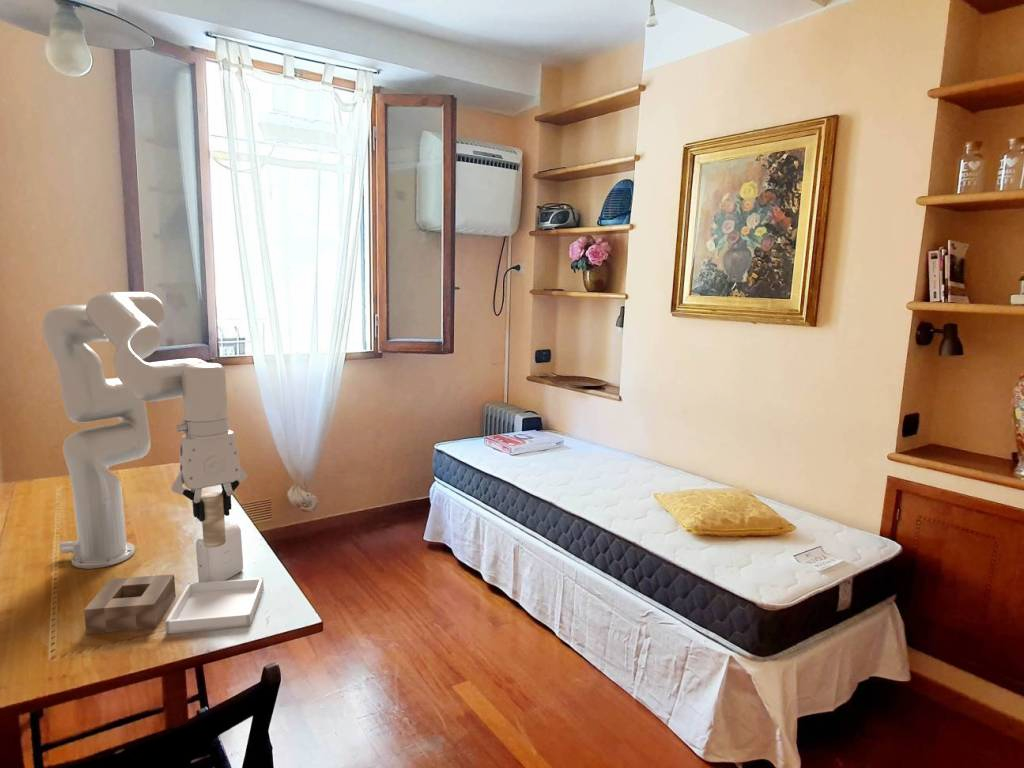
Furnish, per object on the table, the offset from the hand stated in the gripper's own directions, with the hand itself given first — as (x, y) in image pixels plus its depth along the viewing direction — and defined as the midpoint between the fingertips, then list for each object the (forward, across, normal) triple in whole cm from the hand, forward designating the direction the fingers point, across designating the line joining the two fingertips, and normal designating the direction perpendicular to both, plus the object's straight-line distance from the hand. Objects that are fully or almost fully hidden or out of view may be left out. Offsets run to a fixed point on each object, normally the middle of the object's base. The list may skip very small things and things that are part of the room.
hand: (212, 515), depth 122 cm
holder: (+20, -13, +9) cm, 26 cm away
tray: (+20, 0, 0) cm, 20 cm away
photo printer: (+21, +5, +14) cm, 25 cm away
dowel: (+6, 0, 0) cm, 6 cm away
